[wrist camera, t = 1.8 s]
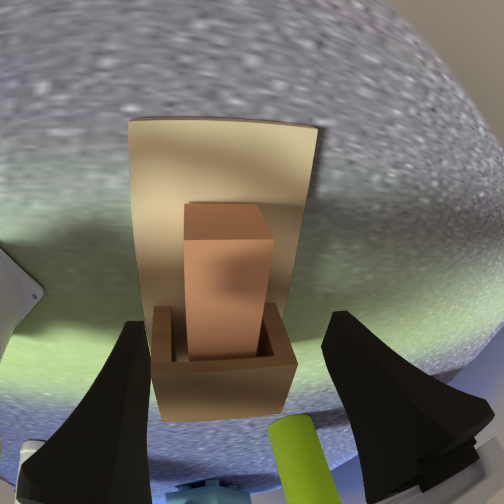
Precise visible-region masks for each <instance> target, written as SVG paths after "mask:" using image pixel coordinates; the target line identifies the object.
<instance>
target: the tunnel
mask: <svg viewBox="0 0 504 504" xmlns="http://www.w3.org/2000/svg"><path fill="white" fill-rule="evenodd" d="M297 366H298V362H297V360H296V357H295V354H294V352H293V349H292V346H291V343H290V341H289V338H288V335H287V333H286V330H285V327H284V325H283V322H282V319H281V316H280V314H279V311H278V308H277V306H276V303H265V304H264V310H263V316H262V322H261V328H260V334H259V340H258V346H257V352H256V358H245V359H231V360H214V361H189V362H177V358H176V349H175V340H174V330H173V319H172V308H171V306H164V307H154V312H153V325H152V341H151V379H152V384H153V388H154V391H155V395H156V399H157V403H158V407H159V410H160V414H161V417H162V421H163V422H194V421H213V420H227V419H238V418H248V417H257V416H265V415H273V414H280V413H281V412H282V409H283V407H284V404H285V401H286V398H287V395H288V392H289V389H290V387H291V384H292V381H293V378H294V375H295V372H296V369H297Z"/></svg>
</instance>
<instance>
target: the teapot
mask: <svg viewBox="0 0 504 504" xmlns="http://www.w3.org/2000/svg"><path fill="white" fill-rule="evenodd" d="M219 483H220V480H217V479H211V480H206V481H205V485H206V486H203V487H198V488H193V489H192V488H191V487H190V486H178V487H177V488H178V489H179V490H180V491H177V492H171V493H166V503H167V504H252V502H251V498H250V493H247V492H243V491H239V490H236V488H237V486H238V485H227V486H225V487H223V486H219Z"/></svg>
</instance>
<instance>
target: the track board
mask: <svg viewBox="0 0 504 504" xmlns="http://www.w3.org/2000/svg"><path fill="white" fill-rule="evenodd" d="M317 132H318V129H316V128H314V127H312V126H310V125H302V124H293V123H283V122H273V121H261V120H247V119H230V118H202V117H157V118H132V119H131V120H130V121H129V122H128V136H129V176H130V196H131V211H132V223H133V235H134V245H135V254H136V263H137V271H138V279H139V286H140V293H141V300H142V307H143V313H144V319H145V325H146V331H147V336H148V342H149V347H150V352H151V341H152V325H153V312H154V307H164V306H171V308H172V319H173V330H174V340H175V349H176V358H177V362H189V356H188V341H187V324H186V304H185V277H184V204H257V205H258V207H259V209H260V211H261V213H262V215H263V217H264V219H265V221H266V223H267V225H268V227H269V229H270V231H271V233H272V235H273V237H274V239H275V240H274V246H273V253H272V259H271V266H270V272H269V279H268V285H267V291H266V297H265V303H276V306H277V308H278V311H279V314H280V316H281V319H283V315H284V310H285V305H286V301H287V296H288V291H289V286H290V282H291V277H292V272H293V267H294V262H295V257H296V252H297V247H298V242H299V236H300V231H301V226H302V220H303V215H304V210H305V204H306V198H307V193H308V187H309V181H310V175H311V170H312V164H313V157H314V151H315V145H316V139H317Z"/></svg>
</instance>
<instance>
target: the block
mask: <svg viewBox="0 0 504 504" xmlns="http://www.w3.org/2000/svg"><path fill="white" fill-rule="evenodd" d="M274 240H275V239H274V237H273V235H272V233H271V231H270V229H269V227H268V225H267V223H266V221H265V219H264V217H263V215H262V213H261V211H260V209H259V207H258V205H257V204H184V277H185V304H186V324H187V341H188V356H189V361H214V360H231V359H245V358H256V352H257V346H258V340H259V334H260V328H261V322H262V316H263V310H264V304H265V297H266V291H267V285H268V279H269V272H270V266H271V259H272V253H273V246H274Z"/></svg>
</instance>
